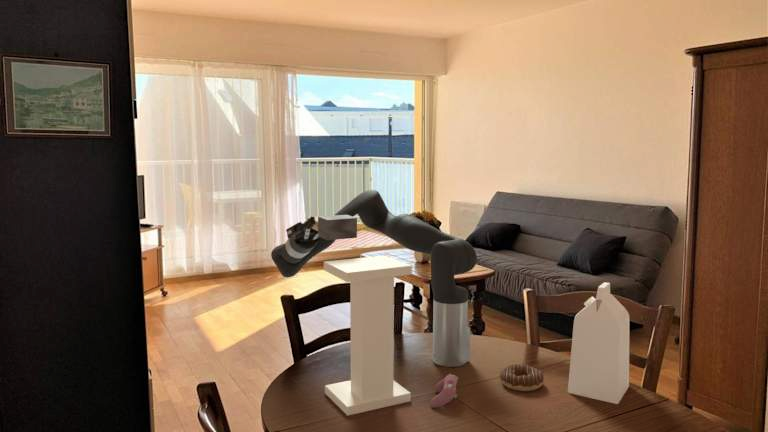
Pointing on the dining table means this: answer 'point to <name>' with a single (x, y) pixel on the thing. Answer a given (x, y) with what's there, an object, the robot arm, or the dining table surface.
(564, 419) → the dining table surface
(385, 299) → the stand
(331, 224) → the grey and beige blocks
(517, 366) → the donut
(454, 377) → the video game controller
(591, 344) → the milk
